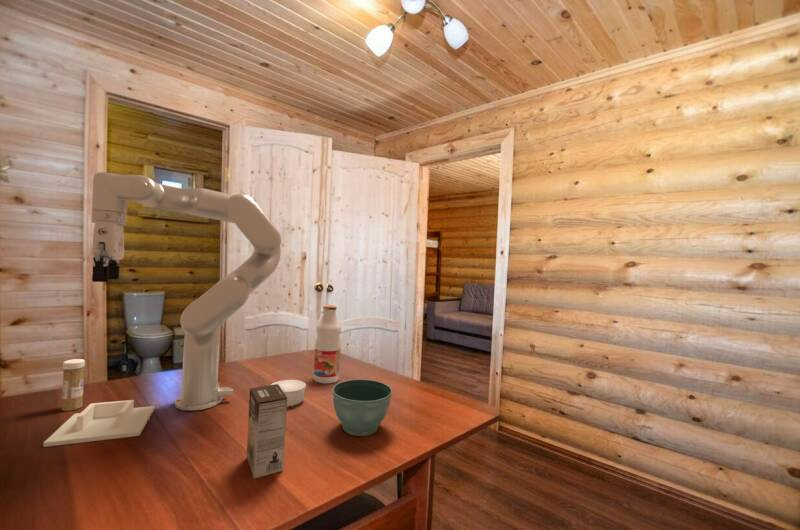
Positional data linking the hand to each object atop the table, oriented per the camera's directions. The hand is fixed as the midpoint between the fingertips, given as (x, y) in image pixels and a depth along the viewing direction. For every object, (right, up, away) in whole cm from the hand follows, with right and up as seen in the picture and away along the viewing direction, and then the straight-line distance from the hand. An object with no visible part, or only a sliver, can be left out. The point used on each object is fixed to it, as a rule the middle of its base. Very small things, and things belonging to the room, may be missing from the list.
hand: (106, 280), depth 99 cm
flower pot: (+70, -41, -1) cm, 81 cm away
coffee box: (+51, -40, -20) cm, 68 cm away
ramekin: (+45, -39, +14) cm, 62 cm away
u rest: (+6, -37, -7) cm, 38 cm away
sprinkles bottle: (-11, -36, +2) cm, 38 cm away
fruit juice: (+53, -39, +36) cm, 76 cm away
